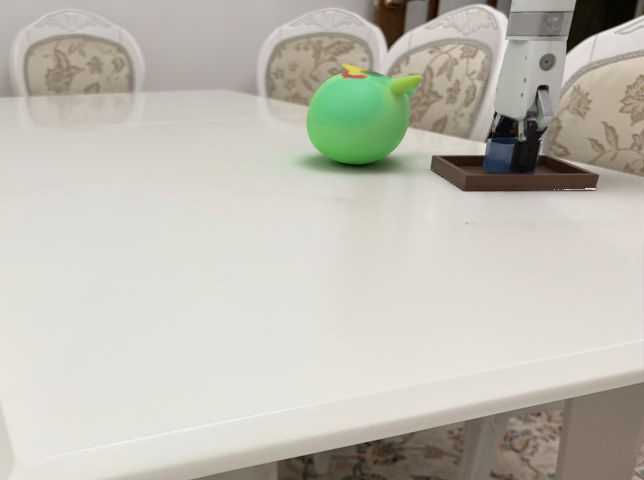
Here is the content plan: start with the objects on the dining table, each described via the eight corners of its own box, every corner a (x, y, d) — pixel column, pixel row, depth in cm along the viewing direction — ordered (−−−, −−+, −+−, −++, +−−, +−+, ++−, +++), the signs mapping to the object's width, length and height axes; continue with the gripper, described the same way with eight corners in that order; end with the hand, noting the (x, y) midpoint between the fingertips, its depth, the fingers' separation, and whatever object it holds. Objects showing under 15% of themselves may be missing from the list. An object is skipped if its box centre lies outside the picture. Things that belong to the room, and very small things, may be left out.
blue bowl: (522, 165, 101) (528, 137, 99) (544, 175, 94) (551, 145, 93) (474, 165, 101) (479, 137, 99) (493, 175, 94) (499, 145, 93)
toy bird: (308, 151, 120) (315, 60, 113) (408, 154, 116) (421, 61, 109) (298, 171, 104) (305, 67, 97) (413, 176, 100) (429, 69, 94)
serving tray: (545, 168, 104) (548, 154, 104) (595, 190, 91) (599, 174, 90) (430, 169, 105) (432, 155, 104) (463, 191, 92) (466, 175, 91)
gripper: (602, 28, 82) (565, 178, 89) (536, 26, 97) (510, 154, 105) (539, 29, 82) (508, 178, 90) (483, 27, 97) (461, 154, 105)
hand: (509, 164), depth 97 cm, fingers closed on blue bowl, 7 cm apart
